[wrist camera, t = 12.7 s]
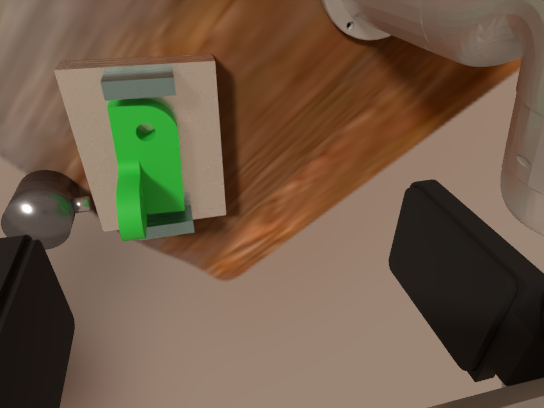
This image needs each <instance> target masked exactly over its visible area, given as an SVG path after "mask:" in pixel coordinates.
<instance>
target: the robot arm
mask: <svg viewBox="0 0 544 408" xmlns="http://www.w3.org/2000/svg"><path fill="white" fill-rule="evenodd" d="M321 1H322V4H323V6H324V9H325V11H326V13H327V15H328V16H329V18H330V19H331V21H332V22H333V23H334V24H335V25H336V26H337V27H338V28H339V29H340V30H341V31H343V32H345V33H346V34H348V35H350V36H352V37H355V38H357V39H362V40H379V39H382V38H386V37H389V36H391V35H393V36H395V37H397V38H400V39H402V40H404V41H407V42H409V43H411V44H414V45H416V46H418V47H421V48H423V49H425V50H428V51H430V52H432V53H435V54H437V55H440V56H442V57H445V58H447V59H450V60H452V61H454V62H457V63H460V64H463V65H467V66H474V67H487V66H495V65H500V64H504V63H507V62H510V61H513V60H516V59H518V58H521V65H520V71H519V77H518V82H517V87H516V91H517V94H516V99H515V104H514V109H513V114H512V118H511V124H510V129H509V133H508V138H507V143H506V148H505V153H504V159H503V164H502V171H501V191H502V196H503V199H504V201H505V204H506V206H507V207H508V209H509V210H510V212H511V213H512V214H513V215H514V216H515V217H516V218H517V219H518V220H519V221H520V222H521V223H523V224H524V225H525V226H527V227H529V228H530V229H531V230H533V231H535V232H537V233H539V234H541V235H543V236H544V0H321ZM348 22H349V25H348V26H347V23H348ZM346 26H347V27H346ZM389 267H390V270H391V271H392V273H393V274H394V276H395V277H396V279H397V280H398V281H399V283H400V284H401V286H402V287H403V288H404V290H405V291H406V293H407V294H408V295H409V297H410V298H411V300H412V301H413V303H414V304H415V305H416V307H417V308H418V310H419V311H420V313H421V314H422V315H423V317H424V318H425V319H426V321H427V322H428V324H429V325H430V327H431V328H432V329H433V331H434V332H435V334H436V335H437V336H438V338H439V339H440V340H441V342H442V344H443V345H444V346H445V348H446V349H447V351H448V352H449V353H450V355H451V356H452V358H453V359H454V360H455V362H456V363H457V365H458V366H459V367H460V368H461V369H462V370H465V371H467V372H468V373H469V374H470V376H471V377H472V379H473V380H474V381H475V382H478V381H482V380H486V379H489V378H493V377H494V376H495V374H496V375H497V376H498V377H499V379H500V380H501V381H502V388H500V389H496V390H493V391H489V392H485V393H481V394H478V395H474V396H470V397H466V398H463V399H459V400H455V401H451V402H448V403H444V404H440V405H436V406H432V407H429V408H544V273H542V272H541V271H540V270H539V269H538V268H536V266H534V265H533V264H532V263H531V262H530V261H529V260H527V259H526V258H525V257H524V256H523V255H522V254H520V253H519V252H518V251H517V250H516V249H515V248H514V247H512V246H511V245H510V244H509V243H508V242H507V241H506V240H504V239H503V238H502V237H501V236H500V235H499V234H497V233H496V232H495V231H494V230H493V229H492V228H491V227H489V226H488V225H487V224H486V223H485V222H484V221H482V220H481V219H480V218H479V217H478V216H477V215H476V214H474V213H473V212H472V211H471V210H470V209H469V208H467V207H466V206H465V205H464V204H463V203H462V202H460V201H459V200H458V199H457V198H456V197H455V196H454V195H452V194H451V193H450V192H449V191H448V190H447V189H446V188H444V187H443V186H442V185H441V184H440V183H439V182H437V181H436V180H426V181H418V182H414V183H412V184H411V185H410V188H408V189H407V190H406V191H405V194H404V198H403V202H402V207H401V211H400V215H399V219H398V223H397V228H396V231H395V236H394V240H393V244H392V248H391V252H390V256H389ZM74 326H75V325H74V317H73V315H72V312H71V310H70V308H69V305H68V303H67V301H66V298H65V296H64V293H63V291H62V289H61V286H60V284H59V282H58V279H57V277H56V275H55V272H54V270H53V268H52V265H51V263H50V261H49V258H48V256H47V254H46V251H45V249H44V247H43V244H42V242H41V241H40V240H33V239H32V238H31V237H30V236H29V235H20V236H13V237H6V238H0V408H59V407H60V402H61V396H62V392H63V386H64V381H65V376H66V371H67V366H68V361H69V356H70V350H71V345H72V340H73V335H74V329H75V327H74Z"/></svg>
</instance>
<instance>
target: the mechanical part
mask: <svg viewBox="0 0 544 408" xmlns="http://www.w3.org/2000/svg"><path fill="white" fill-rule="evenodd" d="M107 109H108V115H109V120H110V126H111V131H112V136H113V142H114V147H115V152H116V158H117V164H118V181H117V188H116V208H117V218H118V225H119V231H120V235H121V238H122V240H123V241H128V240H138V239H146V235H147V214H156V213H167V212H178V211H185V206H184V194H183V182H182V170H181V158H180V146H179V134H178V127H177V122H176V119H175V117H174V115H173V113H172V112H171V111H170V110H169V109H168V108H167V107H166V106H165V105H163V104H162V103H160V102H158V101H155V100H151V99H122V100H109V102H108V105H107ZM141 124H149V125H151V126H153V127H154V130H153V131H152V132H150V133H144V132H141V131H140V130H139V129H138V128H137V127H138V126H139V125H141Z"/></svg>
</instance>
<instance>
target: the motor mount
mask: <svg viewBox="0 0 544 408" xmlns="http://www.w3.org/2000/svg"><path fill="white" fill-rule="evenodd" d="M54 72H55V75H56V78H57V82H58V85H59V88H60V91H61V95H62V98H63V101H64V105H65V108H66V111H67V114H68V118H69V121H70V124H71V128H72V131H73V134H74V137H75V141H76V144H77V147H78V151H79V154H80V157H81V160H82V164H83V167H84V170H85V174H86V177H87V180H88V183H89V187H90V190H91V193H92V197H93V200H94V203H95V206H96V210H97V213H98V216H99V220H100V223H101V226H102V229H103V232H107V231H115V230H119V225H118V218H117V208H116V188H117V181H118V164H117V158H116V152H115V147H114V142H113V136H112V131H111V126H110V120H109V115H108V109H107V105H108V102H109V100H122V99H151V100H155V101H158V102H160V103H162V104H163V105H165V106H166V107H167V108H168V109H169V110H170V111H171V112H172V113H173V115H174V117H175V119H176V122H177V127H178V134H179V146H180V158H181V170H182V182H183V194H184V206H185V211H178V212H167V213H156V214H147V235H146V239H153V238H160V237H167V236H174V235H181V234H187V233H194V224H193V219H201V218H208V217H215V216H222V215H226V205H225V191H224V177H223V163H222V149H221V135H220V122H219V108H218V94H217V80H216V66H215V60H214V58H213V56H212V54H211V53H205V54H186V55H167V56H148V57H129V58H110V59H91V60H72V61H60V62H59V64H58V65H57V67H56V68H55V69H54ZM137 128H138V129H139V130H140V131H141V132H144V133H150V132H152V131H153V130H154V127H153V126H151V125H149V124H141V125H139V126H138V127H137ZM91 209H92V205H91V200H90V197H89V196H86V197H80V196H79V190H78V188H77V186H76V185H75V183H74V182H73V181H72V180H71V179H70V178H68V177H67V176H65V175H63V174H61V173H58V172H55V171H49V170H40V171H35V172H32V173H30V174H28V175H26V176H25V177H24V178H23V179H22V180H21V182H20V183H19V185H18V187H17V189H16V191H15V193H14V195H13V197H12V199H11V200H10V203H9V204H8V206H7V208H6V210H5V212H4V214H3V216H2V219H1V226H2V230H3V232H4V233H5V235H6V236H7V237H13V236H20V235H29V236H30V237H31V238H32V239H33V240H40V241H41V242H42V244H43V247H44V249H45V250H46V249H51V248H54V247H57V246H59V245H61V244H62V243H64V242H65V241H66V240H67V238H68V237H69V235H70V231H71V228H72V224H73V220H74V217H75V213H79V212H86V211H91ZM146 239H138V240H139V241H140V240H146Z"/></svg>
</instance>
